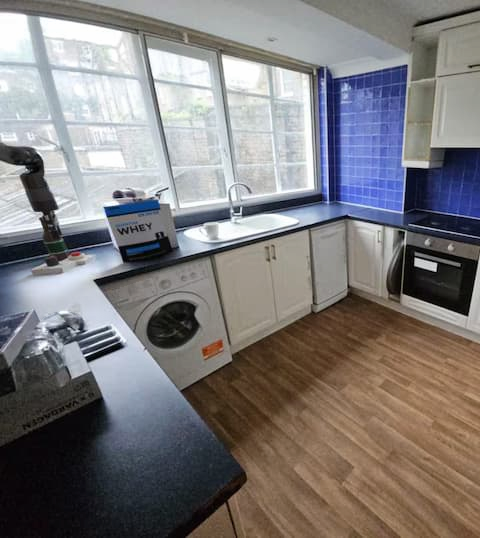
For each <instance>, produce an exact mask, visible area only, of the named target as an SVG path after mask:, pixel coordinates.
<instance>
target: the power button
mask: <svg viewBox="0 0 480 538" xmlns="http://www.w3.org/2000/svg"><path fill="white" fill-rule="evenodd" d="M80 253H81V252H80V251H73V252H71V253H70V255H72V257H75V256H79V255H81V254H80Z"/></svg>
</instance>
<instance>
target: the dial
mask: <svg viewBox="0 0 480 538" xmlns="http://www.w3.org/2000/svg"><path fill="white" fill-rule="evenodd" d="M43 260H44V262H45V263H46V264H47V266H48V267H51V266H56V265H59V262H60V261H58V260H57V257H56V256H51V257H50V256H47V257H44V258H43Z"/></svg>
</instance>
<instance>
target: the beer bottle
mask: <svg viewBox="0 0 480 538" xmlns="http://www.w3.org/2000/svg"><path fill="white" fill-rule="evenodd" d="M38 220H39V222H40V224H41V227H42V229H43V234H42V241H43V244H44V246H45V248H46V250H47V253H48V255H49V257H51V256H56V257H57V260H58V262H61V261H63V260H65V259H67V258H68V256H70V255H71V253H70V252H69V249H68V247H67V245H66V242H65V240H64V238H63V236H62V235H60V237H61V238H60V239H58V240H54V239H53V237H52V235H51V233H50V231H48V230H47V227H46V225H45V223H44V220H43V219H42V216H40V217H38ZM50 227H51V226H50Z"/></svg>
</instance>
